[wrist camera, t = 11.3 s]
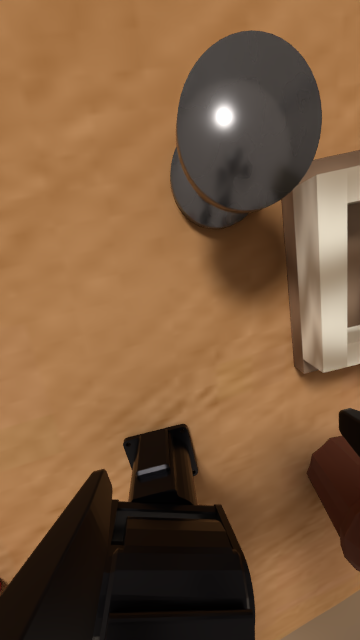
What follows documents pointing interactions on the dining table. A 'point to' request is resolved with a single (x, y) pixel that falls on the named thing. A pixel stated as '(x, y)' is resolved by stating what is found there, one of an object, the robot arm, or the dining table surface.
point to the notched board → (324, 263)
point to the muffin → (339, 492)
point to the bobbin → (243, 128)
